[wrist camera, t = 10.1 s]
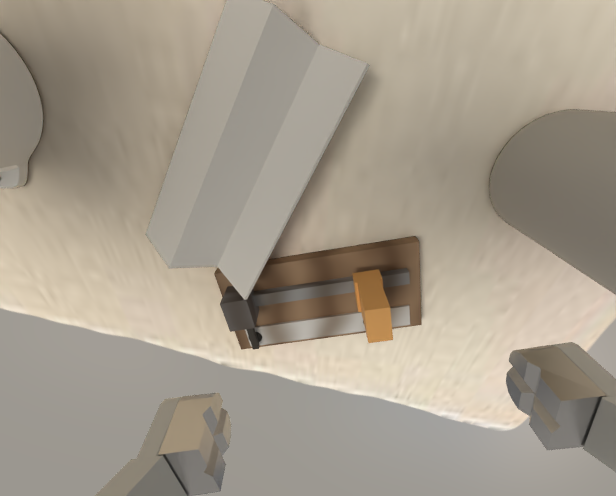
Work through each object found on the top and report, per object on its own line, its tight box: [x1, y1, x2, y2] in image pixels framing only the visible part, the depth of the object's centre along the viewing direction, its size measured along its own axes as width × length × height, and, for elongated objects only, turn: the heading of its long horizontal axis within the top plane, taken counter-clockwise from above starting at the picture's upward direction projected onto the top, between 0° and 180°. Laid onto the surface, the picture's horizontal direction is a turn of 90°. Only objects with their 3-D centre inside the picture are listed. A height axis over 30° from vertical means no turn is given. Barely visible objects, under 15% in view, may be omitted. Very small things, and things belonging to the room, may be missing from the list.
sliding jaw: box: [352, 269, 393, 343], centre depth 35 cm, size 3×9×8 cm, turn 10°
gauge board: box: [215, 236, 421, 349], centre depth 39 cm, size 24×12×5 cm, turn 100°
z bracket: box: [146, 0, 370, 300], centre depth 31 cm, size 12×25×6 cm
